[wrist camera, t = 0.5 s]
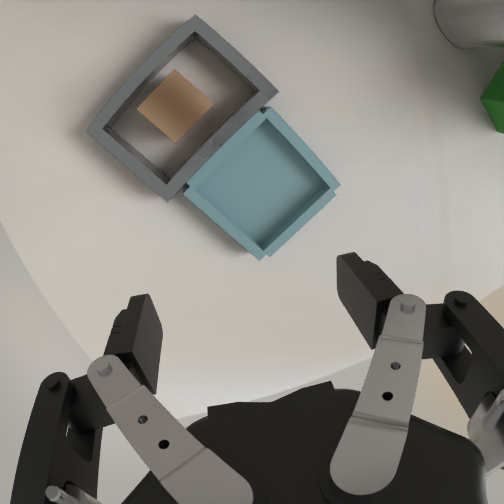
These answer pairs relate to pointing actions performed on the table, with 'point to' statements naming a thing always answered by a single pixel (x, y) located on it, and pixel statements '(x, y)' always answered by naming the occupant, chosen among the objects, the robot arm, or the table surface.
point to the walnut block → (175, 106)
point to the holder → (146, 73)
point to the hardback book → (495, 99)
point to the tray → (262, 184)
